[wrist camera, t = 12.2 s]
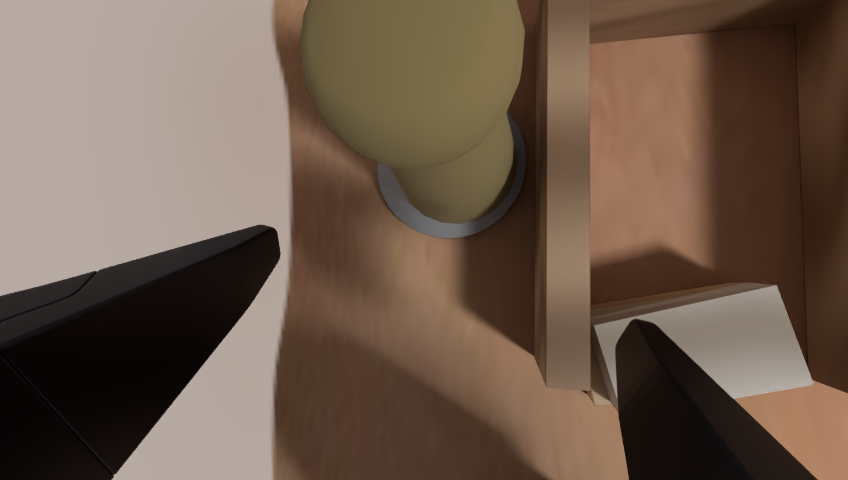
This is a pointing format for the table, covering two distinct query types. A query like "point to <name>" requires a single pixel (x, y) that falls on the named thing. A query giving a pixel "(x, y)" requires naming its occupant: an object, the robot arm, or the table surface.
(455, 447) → the table surface
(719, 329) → the light grey rectangular block
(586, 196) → the brown wooden rectangular frame
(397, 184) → the slate pad
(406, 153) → the olive knobbed peg
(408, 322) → the table surface
